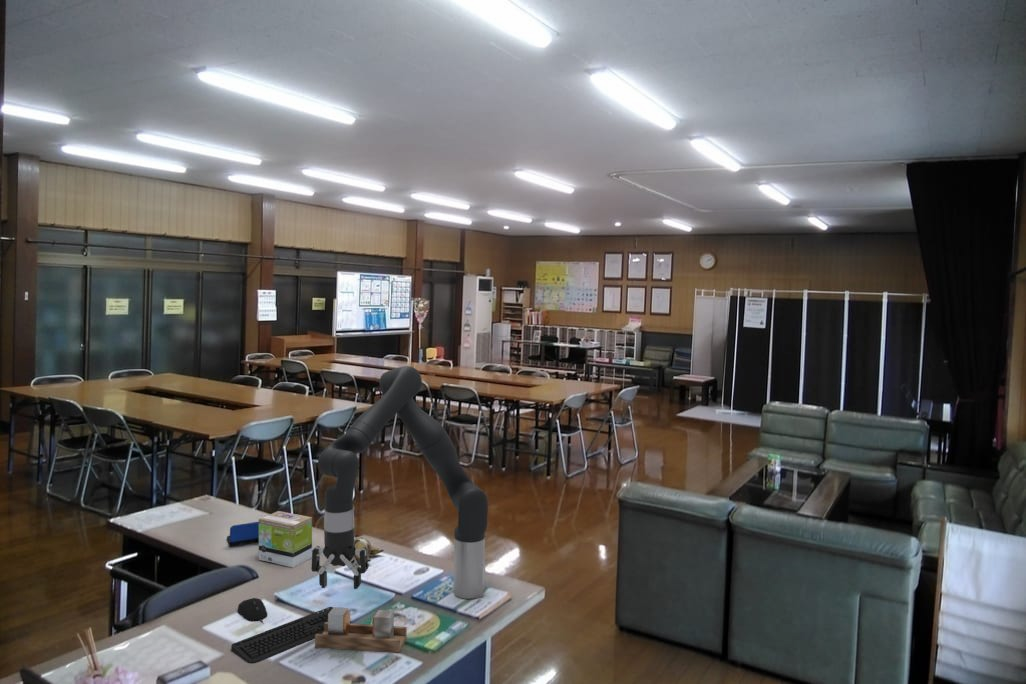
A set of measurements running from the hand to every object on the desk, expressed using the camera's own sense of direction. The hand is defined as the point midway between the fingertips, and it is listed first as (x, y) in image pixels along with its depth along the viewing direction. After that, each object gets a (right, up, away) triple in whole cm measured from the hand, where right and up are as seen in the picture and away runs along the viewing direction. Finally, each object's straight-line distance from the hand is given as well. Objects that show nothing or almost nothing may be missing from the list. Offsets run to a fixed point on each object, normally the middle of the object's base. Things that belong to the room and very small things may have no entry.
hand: (340, 587), depth 174 cm
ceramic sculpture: (-8, -11, +57) cm, 59 cm away
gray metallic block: (-1, -13, +1) cm, 13 cm away
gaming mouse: (-28, -14, +15) cm, 35 cm away
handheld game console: (-51, -10, +72) cm, 89 cm away
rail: (+5, -15, +1) cm, 15 cm away
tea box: (-33, -11, +55) cm, 65 cm away
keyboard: (-13, -15, +4) cm, 20 cm away
